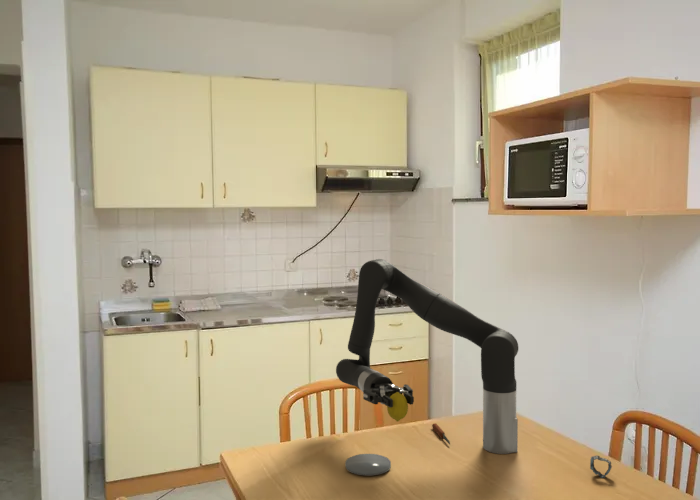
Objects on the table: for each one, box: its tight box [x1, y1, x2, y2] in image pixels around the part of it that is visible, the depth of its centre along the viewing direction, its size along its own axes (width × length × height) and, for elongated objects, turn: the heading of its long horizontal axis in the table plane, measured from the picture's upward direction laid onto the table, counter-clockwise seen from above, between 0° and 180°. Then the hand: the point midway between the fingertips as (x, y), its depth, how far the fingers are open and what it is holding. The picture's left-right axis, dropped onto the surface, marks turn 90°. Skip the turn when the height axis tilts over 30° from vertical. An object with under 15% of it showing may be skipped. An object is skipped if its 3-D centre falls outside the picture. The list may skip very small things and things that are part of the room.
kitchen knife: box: [431, 423, 451, 445], centre depth 186 cm, size 16×1×2 cm, turn 9°
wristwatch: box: [589, 455, 613, 479], centre depth 157 cm, size 3×5×5 cm, turn 55°
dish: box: [344, 453, 392, 477], centre depth 165 cm, size 12×12×2 cm
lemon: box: [386, 392, 409, 422], centre depth 166 cm, size 6×6×8 cm
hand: (401, 402), depth 164 cm, fingers closed on lemon, 5 cm apart
